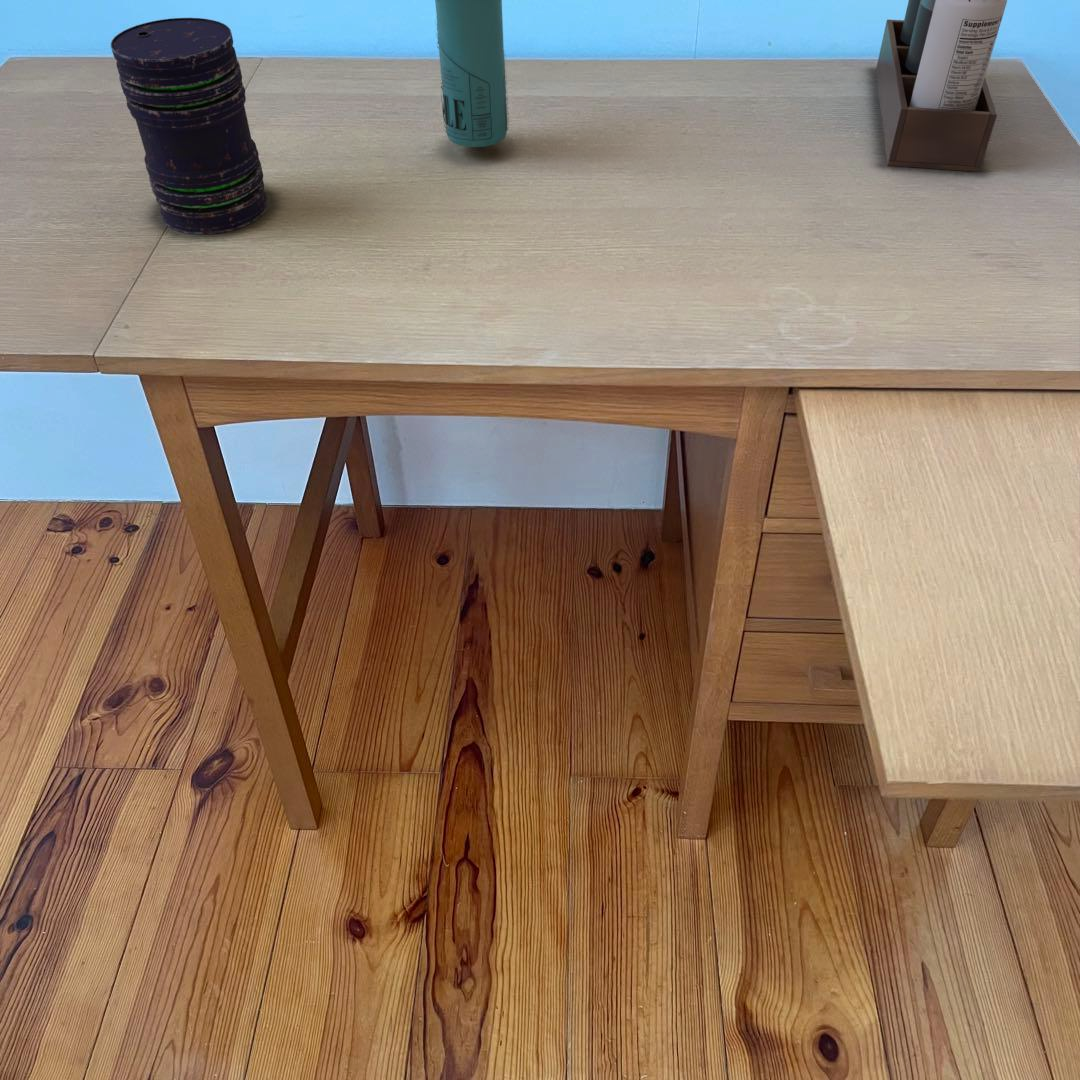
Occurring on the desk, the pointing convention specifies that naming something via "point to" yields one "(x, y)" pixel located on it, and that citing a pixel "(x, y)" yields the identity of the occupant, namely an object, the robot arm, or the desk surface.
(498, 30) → the beverage bottle
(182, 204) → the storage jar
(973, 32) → the energy drink can
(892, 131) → the can rack
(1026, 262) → the desk surface
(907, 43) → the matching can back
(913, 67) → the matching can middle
